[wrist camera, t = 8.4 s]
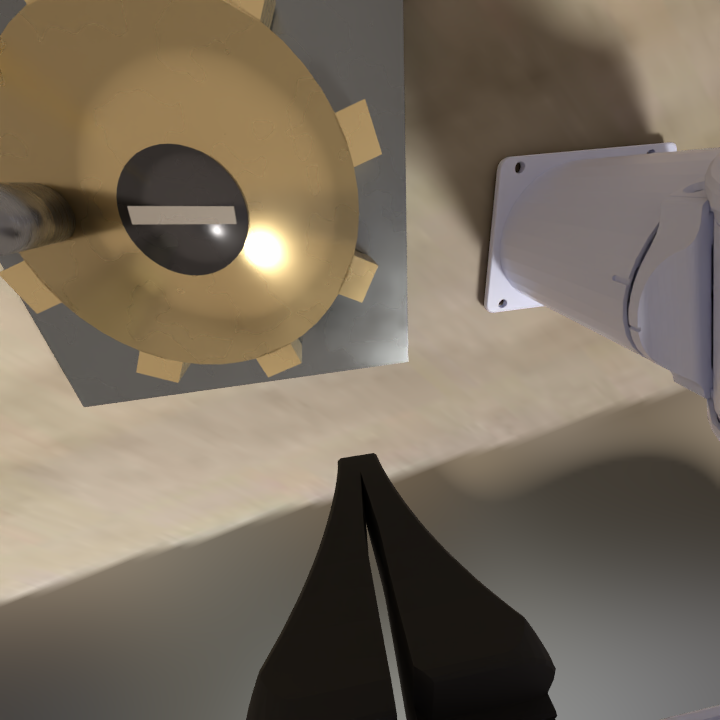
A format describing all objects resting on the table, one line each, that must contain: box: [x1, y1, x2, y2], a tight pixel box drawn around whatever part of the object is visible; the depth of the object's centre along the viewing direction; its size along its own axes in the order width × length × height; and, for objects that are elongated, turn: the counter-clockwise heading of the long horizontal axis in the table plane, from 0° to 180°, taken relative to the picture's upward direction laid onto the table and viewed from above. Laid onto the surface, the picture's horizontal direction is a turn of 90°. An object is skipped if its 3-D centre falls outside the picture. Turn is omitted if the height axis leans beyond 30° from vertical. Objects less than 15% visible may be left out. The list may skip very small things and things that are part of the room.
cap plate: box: [0, 0, 408, 407], centre depth 15 cm, size 18×18×2 cm
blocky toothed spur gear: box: [0, 0, 382, 383], centre depth 12 cm, size 15×15×5 cm
